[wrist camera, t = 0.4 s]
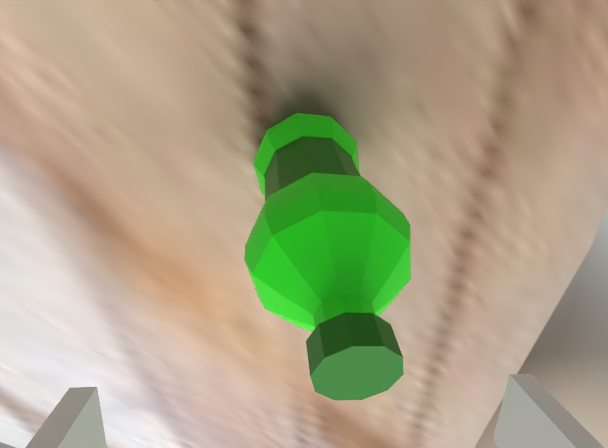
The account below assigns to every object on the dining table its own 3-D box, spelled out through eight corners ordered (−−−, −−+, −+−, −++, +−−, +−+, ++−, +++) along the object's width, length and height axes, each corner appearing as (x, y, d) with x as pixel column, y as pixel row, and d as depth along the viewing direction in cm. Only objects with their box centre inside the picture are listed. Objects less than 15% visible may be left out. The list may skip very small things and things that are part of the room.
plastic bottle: (253, 94, 32) (241, 292, 12) (363, 105, 34) (516, 298, 14) (248, 189, 38) (234, 434, 18) (343, 195, 40) (430, 426, 19)
